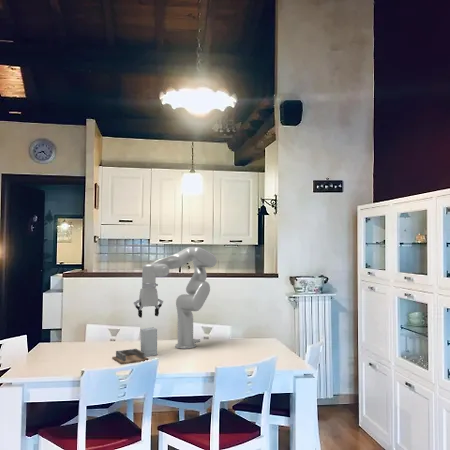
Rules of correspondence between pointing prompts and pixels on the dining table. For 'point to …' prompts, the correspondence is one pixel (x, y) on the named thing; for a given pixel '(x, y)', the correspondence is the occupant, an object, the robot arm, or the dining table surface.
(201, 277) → the robot arm
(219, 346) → the dining table surface
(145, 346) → the skincare box
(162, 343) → the dining table surface
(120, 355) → the u rest
